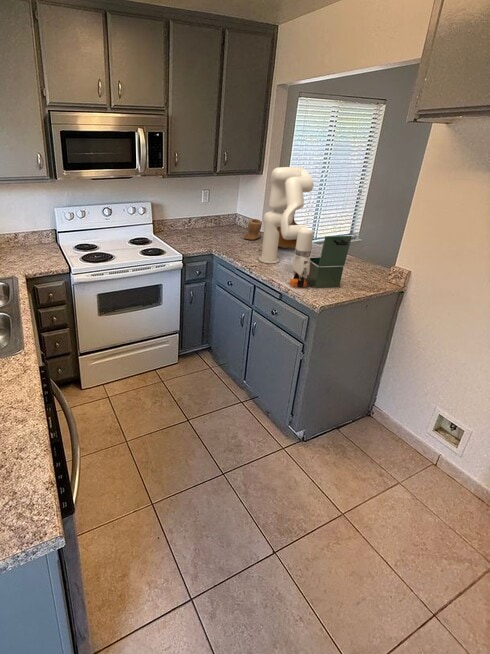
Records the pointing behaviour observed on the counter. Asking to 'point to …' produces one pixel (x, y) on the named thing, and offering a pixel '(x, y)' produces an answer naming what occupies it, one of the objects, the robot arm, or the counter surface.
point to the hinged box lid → (334, 251)
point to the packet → (296, 282)
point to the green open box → (323, 275)
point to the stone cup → (253, 229)
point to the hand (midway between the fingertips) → (297, 284)
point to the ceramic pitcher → (284, 242)
